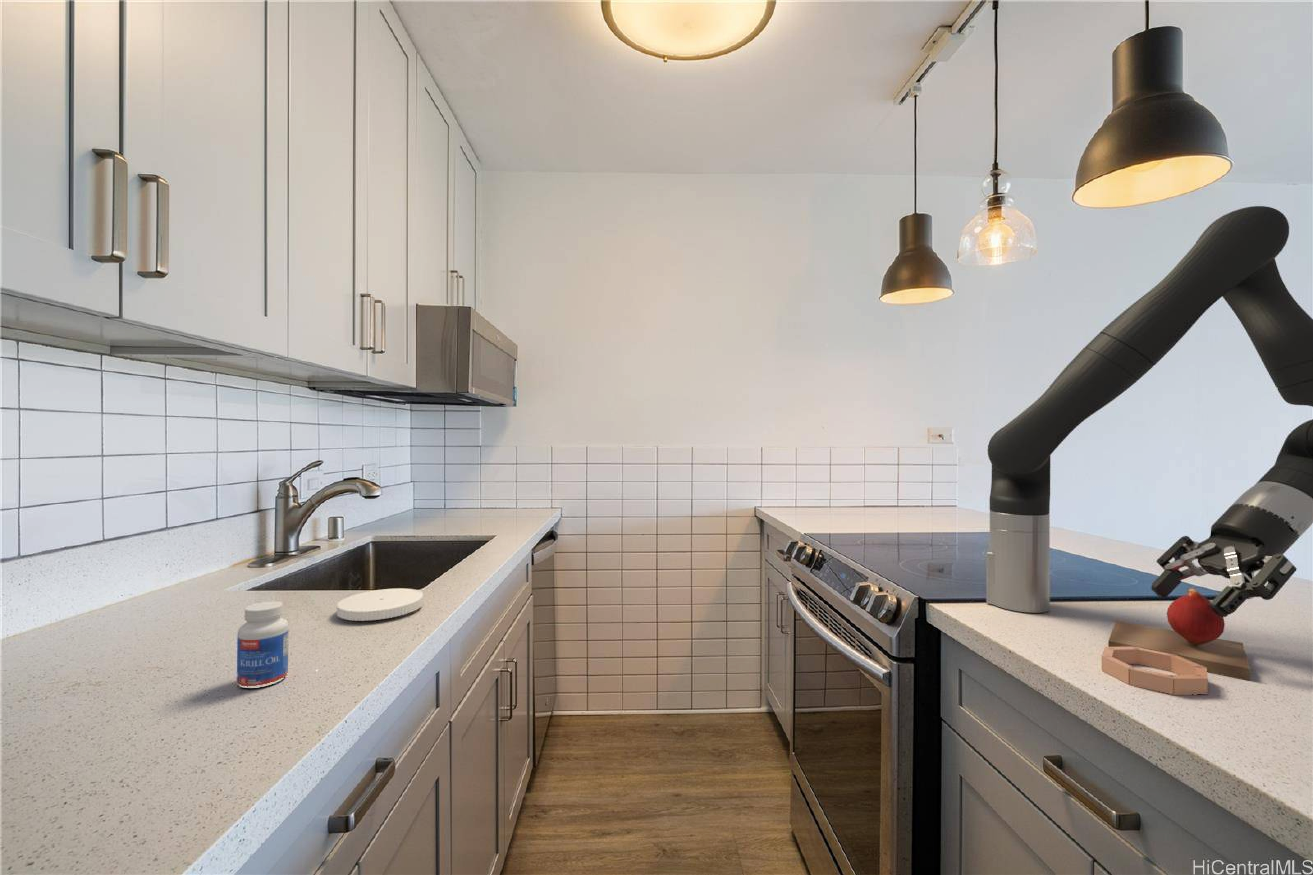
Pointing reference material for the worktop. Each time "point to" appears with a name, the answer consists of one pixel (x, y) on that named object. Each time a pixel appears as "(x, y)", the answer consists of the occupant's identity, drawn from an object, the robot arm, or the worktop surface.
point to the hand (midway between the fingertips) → (1185, 602)
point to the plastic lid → (380, 604)
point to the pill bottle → (262, 645)
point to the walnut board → (1184, 648)
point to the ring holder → (1185, 683)
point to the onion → (1195, 618)
